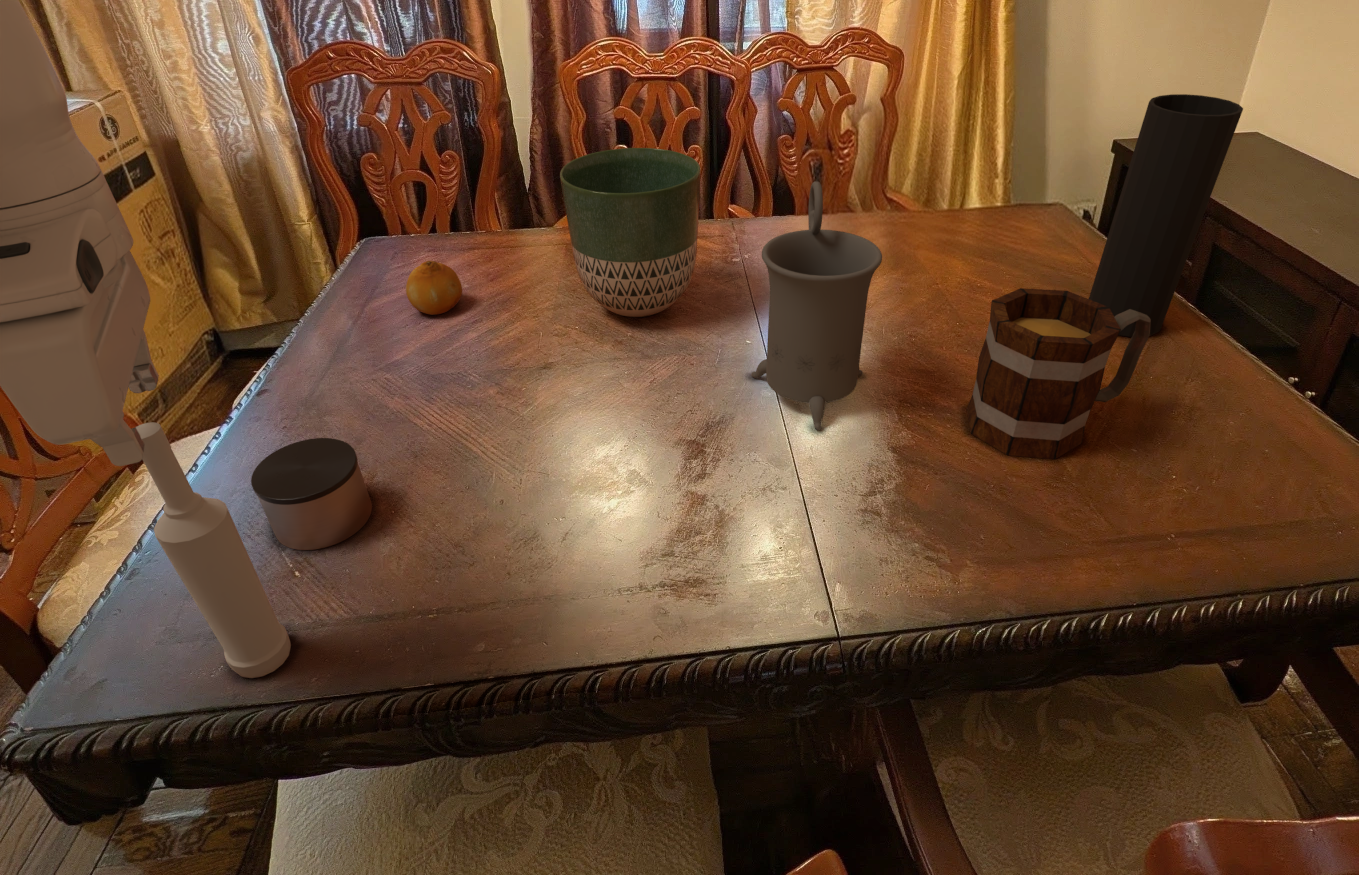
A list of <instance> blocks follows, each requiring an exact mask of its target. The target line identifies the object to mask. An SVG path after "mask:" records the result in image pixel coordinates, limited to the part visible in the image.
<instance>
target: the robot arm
mask: <svg viewBox="0 0 1359 875" xmlns="http://www.w3.org/2000/svg"><path fill="white" fill-rule="evenodd" d="M68 106H69V105H68V98H67V95H66V91H65V89H64V86H63V84H62V82H61V80H60V77H59V76H58V73H57V71H56V69H55V67H54V65H53V63H52V61H51V58H50V57H49V54H48V53H47V50H46V48H45V47H44V44H43V43H42V41H41V39H40V37H39V35H38V32H37V31H36V29H35V27H34V26H33V23H32V21H31V20H30V18H29V16H28V15H27V12H26V10H25V9H24V7H23V5H22V4H21V2H20V0H0V388H1V389H2V390H3V393H4V394H5V396H7V398H8V399H9V400H10V402H11V403H12V405H13V406H14V408H15V409H16V411H17V412H18V413H19V414H20V416H21V417H22V418H23V420H24V421H25V423H27V425H28V427H29V428H30V429H31V430H32V431H33V432H34V434H36V435H37V436H38V437H39V438H41V439H43V440H45V441H46V442H48V443H49V444H50V443H51V444H52V445H56V446H61V445H69V444H73V443H78V442H83V441H88V440H91V442H93V443H95V444H96V445H98V446H99V447H100V448H102V449H103V452H104V453H105V454H106V456H107V458H108V459H109V461H110V463H111V464H112V465H114V466H117V467H124V466H127V465H128V466H129V465H132V464H137V463H140V462H141V461H143V460H142V458H143V453H144V446H145V444H144V442H143V440H141V437H140V434H139V433H138V431H137V429H136V428H135V427H130V426H129V425H128V423H127V422H126V421H125V420H124V417H125V413H124V411H123V410H124V407H125V403H126V398H127V395H128V391H130V392H132V393H133V394H142V393H144V392H152V391H155V389H156V388H157V386H158V383H159V377H160V375H159V373H158V371H157V369H156V367H155V365H154V362H153V361H152V357H151V352H150V348H149V344H148V338H147V334H146V331H145V329H144V327H145V324H146V320H147V315H148V312H149V307H150V304H151V295H150V291H149V288H148V284H147V282H146V279H145V277H144V274H143V273H142V271H141V270H140V267H139V265H138V263H137V262H136V260H135V258H134V255H133V254H132V252H131V249H132V248H133V246H134V238H133V236H132V234H131V233H132V232H130V229H129V227H128V225H127V223H126V220H125V218H124V216H123V214H122V211H121V208H120V207H119V206H118V203H117V201H116V199H115V197H114V195H113V192H112V191H111V188H110V186H109V184H108V182H107V180H106V176H105V175H104V173H103V171H102V168H101V166H100V164H99V162H98V161H97V159H96V158H95V156H94V155H93V153H91V151H90V150H89V149H88V148H87V147H86V146H85V145H84V143H83V142H82V141H81V139H80V137H79V136H78V134H77V132H76V130H75V128H74V126H73V123H72V119H71V117H70V112H69V107H68Z"/></svg>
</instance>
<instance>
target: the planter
mask: <svg viewBox="0 0 1359 875" xmlns="http://www.w3.org/2000/svg"><path fill="white" fill-rule="evenodd" d="M559 178H560V185H561V192H562V198H563V202H564V208H565V214H566V221H567V225H568V226H567V227H568V234H569V238H570V244H571V250H572V255H573V260H574V261H573V262H574V264H575V268H576V271H577V275H578V277H579V279H580V281H581V284H582V285H583V287H584V289H585V291H586V292H587V294H588V295H589V296H590V297H591V298H592V299H593V300H594V301H595V302H596V303H597V304H598V305H600V306H601V307H603V308H604V309H606V310H607V311H610V312H612V313H613V314H616V315H619V316H623V317H629V318H642V317H643V318H644V317H650V316H652V315H656V314H659V313H661V312H663V311H665V310H667V309H668V308H670V307H671V306H672V305H673V304H675V303H676V302H677V301H678V300H679V299H680V298H681V296H682V295H683V294H684V293H685V292H686V290H687V289H688V287H689V285H690V283H691V280H692V278H693V274H694V271H695V267H696V262H697V253H698V238H699V237H698V236H699V219H700V218H699V215H700V213H699V212H700V193H701V165H700V164H699V162H698V161H697V160H696V159H694V158H693V157H691V156H689V155H687V154H685V153H681V152H678V151H674V150H669V149H662V148H654V147H652V148H651V147H627V148H626V147H624V148H623V147H622V148H614V149H607V150H600V151H597V152H592V153H588V154H584V155H582V156H579V157H577V158H574V159H572V160H571V161H569V162H567V163H566V164H564V166H563V167H562V168H561V170H560V172H559Z"/></svg>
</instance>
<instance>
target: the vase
mask: <svg viewBox="0 0 1359 875" xmlns="http://www.w3.org/2000/svg"><path fill="white" fill-rule="evenodd" d="M1243 111H1244V107H1242V106H1241V104H1239V103H1236V102H1234V101H1232V100H1229V99H1224V98H1220V97H1215V96H1208V95H1201V94H1200V95H1199V94H1185V93H1183V94H1180V93H1179V94H1177V93H1176V94H1175V93H1174V94H1173V93H1172V94H1163V95H1157V96H1155V97H1152V98H1150V100H1149V101H1148V104H1147V107H1146V111H1145V114H1144V117H1143V120H1142V123H1141V126H1140V130H1139V132H1138V137H1137V139H1136V143H1135V147H1134V149H1133V152H1132V155H1131V160H1130V162H1129V165H1128V169H1127V172H1126V175H1125V179H1124V182H1123V185H1122V189H1121V192H1120V195H1119V199H1118V202H1117V205H1116V208H1115V212H1114V215H1113V218H1112V221H1111V224H1110V227H1109V231H1108V234H1107V238H1106V241H1105V244H1104V248H1103V251H1102V254H1101V257H1100V261H1099V264H1098V266H1097V270H1096V273H1095V277H1094V281H1093V283H1092V287H1091V290H1090V293H1089V296H1088V299H1090V300H1092V301H1095V302H1097V303H1100V304H1102V305H1105V306H1107V307H1109V308H1110V310H1111V312H1112V314H1113V315H1114V317H1115V316H1116V315H1118V314H1120V313H1122V312H1124V311H1127V310H1129V309H1132V310H1134V311H1137V312H1140V313H1143V314H1145V315H1147V316H1148V317H1149V318H1150V319H1151V321H1150V336H1154V335H1155V334H1157V333H1159V332H1161V329H1162V327H1163V325H1164V322H1165V319H1166V317H1167V314H1168V311H1169V308H1170V306H1171V304H1172V300H1173V298H1174V295H1175V292H1176V290H1177V288H1178V284H1179V282H1180V279H1181V277H1182V274H1183V272H1184V271H1183V270H1184V268H1185V265H1186V262H1187V260H1188V257H1189V256H1190V252H1191V250H1192V247H1193V244H1194V242H1195V240H1196V236H1197V234H1198V231H1199V228H1200V226H1201V223H1202V221H1203V217H1204V214H1205V212H1206V210H1207V207H1208V204H1209V203H1210V202H1209V201H1210V199H1211V196H1212V193H1213V191H1214V188H1215V186H1216V183H1217V181H1218V178H1219V175H1220V172H1221V170H1222V168H1223V164H1224V161H1225V159H1226V156H1227V154H1228V152H1229V148H1230V145H1231V142H1232V140H1233V138H1234V135H1235V132H1236V129H1237V127H1238V124H1239V122H1240V119H1241V117H1242V113H1243ZM1135 326H1136V321H1135V322H1133V323H1131V324H1129V325H1127V326H1126V327H1125V328H1124V329H1123V330H1121V331H1120V333H1119V335H1118V336H1120V337H1125V338H1132V336H1133V334H1134V332H1135ZM1150 336H1149V337H1150Z"/></svg>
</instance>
